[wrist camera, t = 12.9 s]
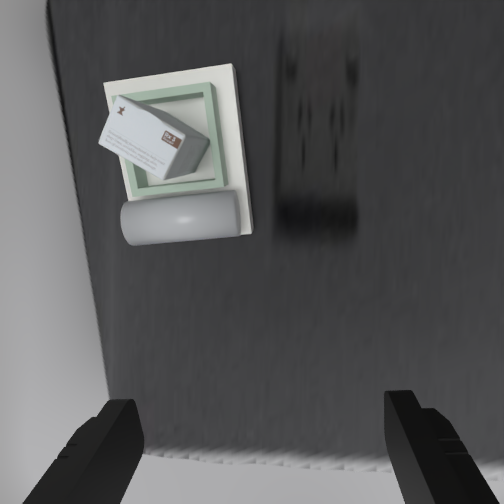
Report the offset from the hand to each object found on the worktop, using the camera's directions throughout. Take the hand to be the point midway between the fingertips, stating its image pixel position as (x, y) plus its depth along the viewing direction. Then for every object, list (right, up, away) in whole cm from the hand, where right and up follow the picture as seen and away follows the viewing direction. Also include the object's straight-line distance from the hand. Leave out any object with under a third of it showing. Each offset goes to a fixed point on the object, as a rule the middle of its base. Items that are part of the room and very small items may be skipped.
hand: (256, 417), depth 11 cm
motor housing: (-8, +16, +30) cm, 35 cm away
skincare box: (-8, +17, +27) cm, 33 cm away
